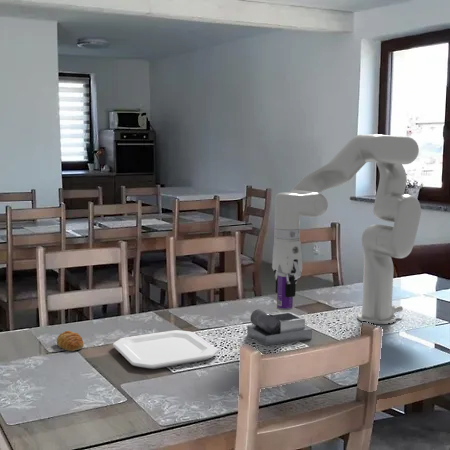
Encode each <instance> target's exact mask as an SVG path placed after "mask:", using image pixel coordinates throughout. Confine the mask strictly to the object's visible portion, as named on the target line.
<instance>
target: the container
mask: <svg viewBox="0 0 450 450" xmlns="http://www.w3.org/2000/svg"><path fill="white" fill-rule="evenodd" d="M291 273H293V271H291ZM292 276H293V275H290V278H291V277H292ZM286 284H287V279H286V274H285V273H283V272H282V269H281V266H280V265H279V267H278V285H277V293H276V309H277V310H280V311H291V310H293V303H294V301H293V300H294V297H285V286H286Z"/></svg>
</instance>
